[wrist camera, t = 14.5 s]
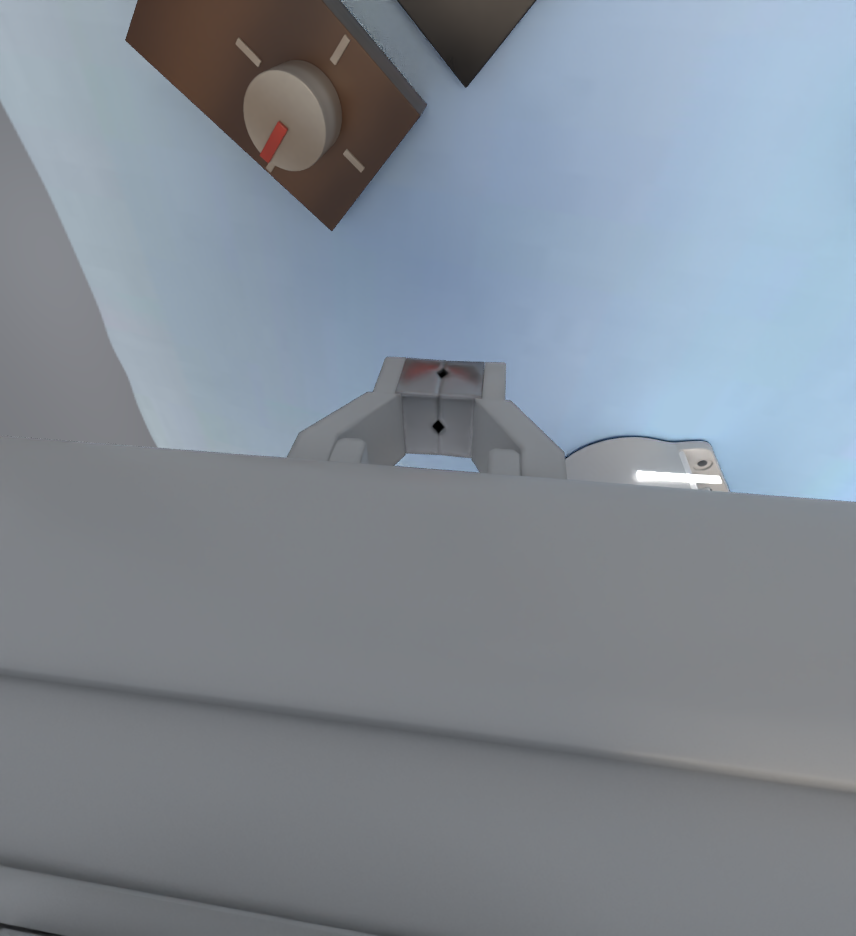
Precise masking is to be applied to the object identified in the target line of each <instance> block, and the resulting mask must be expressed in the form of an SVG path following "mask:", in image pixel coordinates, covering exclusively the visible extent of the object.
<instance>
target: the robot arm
mask: <svg viewBox="0 0 856 936" xmlns="http://www.w3.org/2000/svg"><path fill="white" fill-rule="evenodd" d="M484 364H485V367H484ZM505 389H506V363H505V362H467V361H446V360H433V359H420V358H406V357H386V358H385V360H384V363H383V365H382V368H381V371H380V374H379V376H378V379H377V382H376V384H375V387H374V390H373V392H366V393H365V394H363V395H361V396H360V397H358V398H356V399H355V400H353V401H351V402H350V403H348V404H346V405H345V406H343V407H341V408H340V409H338V410H336V411H335V412H333V413H331V414H330V415H328V416H326V417H325V418H323V419H321V420H320V421H318V422H316V423H315V424H313V425H311V426H310V427H308V428H306V429H305V430H303V431H301V432H300V433H299V434H298V436H297V438H296V440H295V442H294V444H293V446H292V448H291V450H290V452H289V454H288V456H287V458H284V457H271V456H258V455H245V454H232V453H219V452H206V451H193V450H180V449H167V448H153V447H142V446H127V445H116V444H102V443H90V442H77V441H64V440H50V439H38V438H26V437H12V436H0V936H856V502H851V501H838V500H825V499H813V498H800V497H787V496H774V495H761V494H748V493H736V492H730V490H729V488H728V486H727V483H726V481H725V478H724V476H723V473H722V471H721V468H720V466H719V463H718V461H717V459H716V456H715V454H714V451H713V449H712V446H711V445H710V444H709V443H707V442H704V441H686V442H675V443H674V442H666V441H661V440H656V439H651V438H642V437H624V438H615V439H609V440H605V441H601V442H598V443H595V444H592V445H589V446H587V447H584V448H582V449H580V450H579V451H577V452H575V453H573V454H572V455H570V456H569V457H568V458H567V459H565V454H564V451H562V450H561V449H560V448H559V447H558V446H557V445H556V444H555V443H554V442H553V441H552V440H551V439H550V438H549V437H548V436H547V435H546V434H545V433H544V432H543V431H542V430H541V429H540V428H539V427H538V426H537V425H536V424H535V423H534V422H533V421H531V420H530V419H529V418H528V417H527V416H526V415H525V414H524V413H523V412H522V411H521V410H520V409H519V408H518V407H517V406H516V405H515V404H514V403H513V402H512V401H510V400H505ZM405 453H411V454H431V455H445V456H455V457H465V458H472V461H473V463H474V464H475V466H476V467H477V469H478V470H479V472H480V473H477V472H465V471H452V470H439V469H426V468H413V467H400V466H394V465H395V464H396V463H397V462H399V461H400V460H401V459H402V458H403V457H404V456H405Z"/></svg>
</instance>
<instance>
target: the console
mask: <svg viewBox="0 0 856 936" xmlns="http://www.w3.org/2000/svg"><path fill="white" fill-rule="evenodd" d="M125 40H126V42H127V43H129V44H130V45H131V46H132V47H133V48H134V49H135V50H136V51H137V52H138V53H139V54H140V55H142V56H143V57H144V58H145V59H146V60H147V61H148V62H149V63H150V64H151V65H152V66H153V67H155V68H156V69H157V70H158V71H159V72H160V73H161V74H162V75H163V76H164V77H165V78H166V79H168V80H169V81H170V82H171V83H172V84H173V85H174V86H175V87H176V88H177V89H178V90H179V91H180V92H182V93H183V94H184V95H185V96H186V97H187V98H188V99H189V100H190V101H191V102H192V103H193V104H195V105H196V106H197V107H198V108H199V109H200V110H201V111H202V112H203V113H204V114H205V115H206V116H208V117H209V118H210V119H211V120H212V121H213V122H214V123H215V124H216V125H217V126H218V127H219V128H221V129H222V130H223V131H224V132H225V133H226V134H227V135H228V136H229V137H230V138H231V139H232V140H234V141H235V142H236V143H237V144H238V145H239V146H240V147H241V148H242V149H243V150H244V151H245V152H247V153H248V154H249V155H250V156H251V157H252V158H253V159H254V160H255V161H256V162H257V163H258V164H259V165H261V166H262V167H263V168H264V169H265V170H266V171H267V172H268V173H269V174H270V175H271V176H272V177H274V178H275V179H276V180H277V181H278V182H279V183H280V184H281V185H282V186H283V187H284V188H285V189H287V190H288V191H289V192H290V193H291V194H292V195H293V196H294V197H295V198H296V199H297V200H298V201H300V202H301V203H302V204H303V205H304V206H305V207H306V208H307V209H308V210H309V211H310V212H311V213H313V214H314V215H315V216H316V217H317V218H318V219H319V220H320V221H321V222H322V223H323V224H324V225H326V226H327V227H328V228H329V229H330V230H331V231H333V229H334V228H335V227H336V225H337V224H338V223H339V221H340V220H341V219H342V218H343V216H344V215H345V214H346V212H347V211H348V210H349V208H350V207H351V206H352V205H353V203H354V202H355V201H356V199H357V198H358V197H359V195H360V194H361V193H362V191H363V190H364V189H365V188H366V186H367V185H368V184H369V182H370V181H371V180H372V178H373V177H374V176H375V175H376V173H377V172H378V171H379V169H380V168H381V167H382V165H383V164H384V163H385V161H386V160H387V159H388V158H389V156H390V155H391V154H392V152H393V151H394V150H395V148H396V147H397V146H398V145H399V143H400V142H401V141H402V139H403V138H404V137H405V135H406V134H407V133H408V131H409V130H410V129H411V128H412V126H413V125H414V124H415V122H416V121H417V120H418V118H419V117H420V116H421V114H422V112H423V111H424V109H425V107H426V106H427V104H426V103H425V102H424V100H423V99H422V98H421V97H420V96H419V95H418V93H417V92H416V91H415V90H414V89H413V87H412V86H411V85H410V84H409V83H408V81H407V80H406V79H405V78H404V77H403V75H402V74H401V73H400V72H399V71H398V69H397V68H396V67H395V66H394V65H393V63H392V62H391V61H390V60H389V59H388V57H387V56H386V55H385V54H384V53H383V51H382V50H381V49H380V48H379V47H378V46H377V44H376V43H375V42H374V41H373V40H372V38H371V37H370V36H369V35H368V34H367V32H366V31H365V30H364V29H363V28H362V26H361V25H360V24H359V23H358V22H357V20H356V19H355V18H354V17H353V16H352V14H351V13H350V12H349V11H348V10H347V8H346V7H345V6H344V5H343V4H342V2H341V1H340V0H138V1H137V4H136V8H135V11H134V14H133V17H132V20H131V23H130V27H129V30H128V33H127V36H126V39H125ZM290 60H302V61H306V62H309V63H311V64H313V65H314V66H316V67H317V68H319V69H320V70H321V71H322V72H323V73H324V74H325V75H326V76H327V77H328V78H329V80H330V81H331V83H332V84H333V86H334V88H335V90H336V92H337V94H338V97H339V100H340V104H341V109H342V124H341V130H340V133H339V136H338V138H337V140H336V142H335V143H334V144H333V145H332V146H331V147H330V148H329V149H328V151H327V152H326V153H325V154H324V155H323V156H322V157H321V158H320V159H319V160H318V161H317V162H316V163H315V164H314V165H312V166H311V167H309V168H307V169H305V170H301V171H288V170H284V169H282V168H279V167H277V166H275V165H274V164H272V163H271V162H269V163H267V162H266V161H265V160H264V159H263V158H262V157H261V156H260V152H259V151H258V149H257V148H256V147H255V145H254V144H253V142H252V140H251V138H250V136H249V133H248V131H247V128H246V124H245V120H244V112H243V104H244V97H245V93H246V90H247V88H248V86H249V84H250V82H251V81H252V80H253V79H254V78H255V77H256V76H257V75H258V74H260V73H262V72H264V71H266V70H269V69H271V68H273V67H275V66H278V65H280V64H282V63H284V62H287V61H290Z"/></svg>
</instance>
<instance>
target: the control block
mask: <svg viewBox="0 0 856 936" xmlns="http://www.w3.org/2000/svg"><path fill="white" fill-rule="evenodd" d="M397 1H398V2H399V3H400V5H401V6H402V7H403V8H404V10H405V11H406V12H407V14H408V15H409V16H410V17H411V19H412V20H413V21H414V23H415V24H416V25H417V26H418V28H419V29H420V30H421V31H422V33H423V34H424V35H425V37H426V38H427V39H428V40H429V42H430V43H431V44H432V46H433V47H434V48H435V49H436V51H437V52H438V53H439V54H440V56H441V57H442V58H443V60H444V61H445V62H446V63H447V65H448V66H449V67H450V69H451V70H452V71H453V72H454V74H455V75H456V76H457V78H458V79H459V80H460V81H461V83H462V84H463V85H464V86H465V87H467V86H468V85H469V84H470V83H471V81H472V80H473V79H474V78H475V76H476V75H477V74H478V73H479V71H480V70H481V69H482V68H483V66H484V65H485V64H486V63H487V61H488V60H489V59H490V58H491V56H492V55H493V54H494V53H495V51H496V50H497V49H498V48H499V46H500V45H501V44H502V43H503V41H504V40H505V39H506V38H507V36H508V35H509V34H510V33H511V31H512V30H513V29H514V28H515V26H516V25H517V24H518V23H519V21H520V20H521V19H522V18H523V16H524V15H525V14H526V13H527V11H528V10H529V9H530V8H531V6H532V5H533V4H534V3H535V1H536V0H397Z"/></svg>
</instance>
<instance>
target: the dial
mask: <svg viewBox="0 0 856 936" xmlns="http://www.w3.org/2000/svg"><path fill="white" fill-rule="evenodd" d="M243 112H244V120H245V124H246V128H247V131H248V133H249V136H250V138H251V140H252V142H253V144H254V145H255V147H256V148H257V149H258V151H259V152H260V156H261V157H262V158H263V159H264V160H265V161H266V162H267V163H269V162H271V163H272V164H274V165H275V166H277V167H279V168H282V169H284V170H288V171H301V170H305V169H307V168H309V167H311V166H312V165H314V164H315V163H316V162H317V161H318V160H319V159H320V158H321V157H322V156H323V155H324V154H325V153H326V152H327V151H328V149H329V148H330V147H331V146H332V145H333V144H334V143H335V142H336V140H337V138H338V136H339V133H340V130H341V124H342V109H341V104H340V100H339V97H338V94H337V92H336V90H335V88H334V86H333V84H332V83H331V81H330V80H329V78H328V77H327V76H326V75H325V74H324V73H323V72H322V71H321V70H320V69H319V68H317V67H316V66H314V65H313V64H311V63H309V62H306V61H302V60H290V61H287V62H284V63H282V64H280V65H278V66H275V67H273V68H271V69H269V70H266V71H264V72H262V73H260V74H258V75H257V76H256V77H255V78H254V79H253V80H252V81H251V82H250V84H249V86H248V88H247V90H246V93H245V97H244V104H243Z"/></svg>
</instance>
